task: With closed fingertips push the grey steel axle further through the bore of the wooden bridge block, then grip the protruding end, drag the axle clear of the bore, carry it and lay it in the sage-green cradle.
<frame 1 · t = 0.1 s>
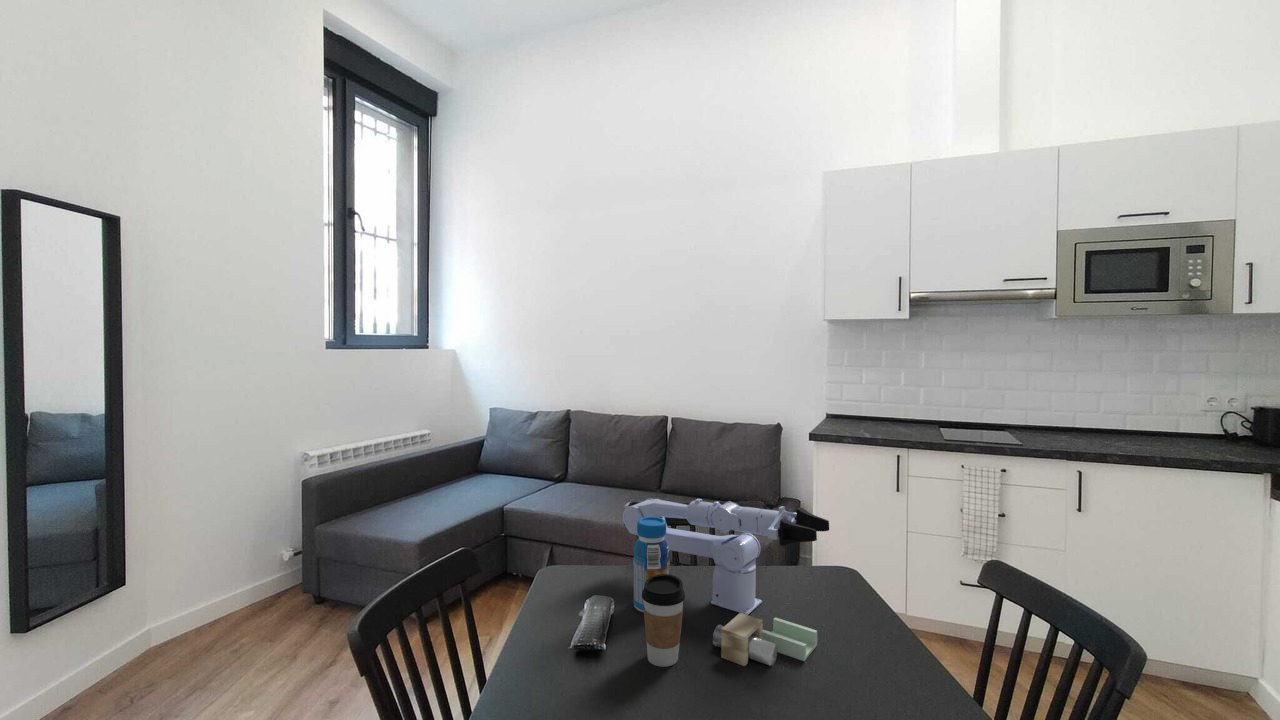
hand: (822, 530, 121), 22 cm above the table, tool horizontal, fingers open, 7 cm apart
coffee cup: (662, 659, 111), on the table
cradle: (789, 645, 116), on the table
beverage bottle: (651, 606, 132), on the table
axle: (744, 654, 113), on the table
wooden bridge block: (742, 652, 113), on the table
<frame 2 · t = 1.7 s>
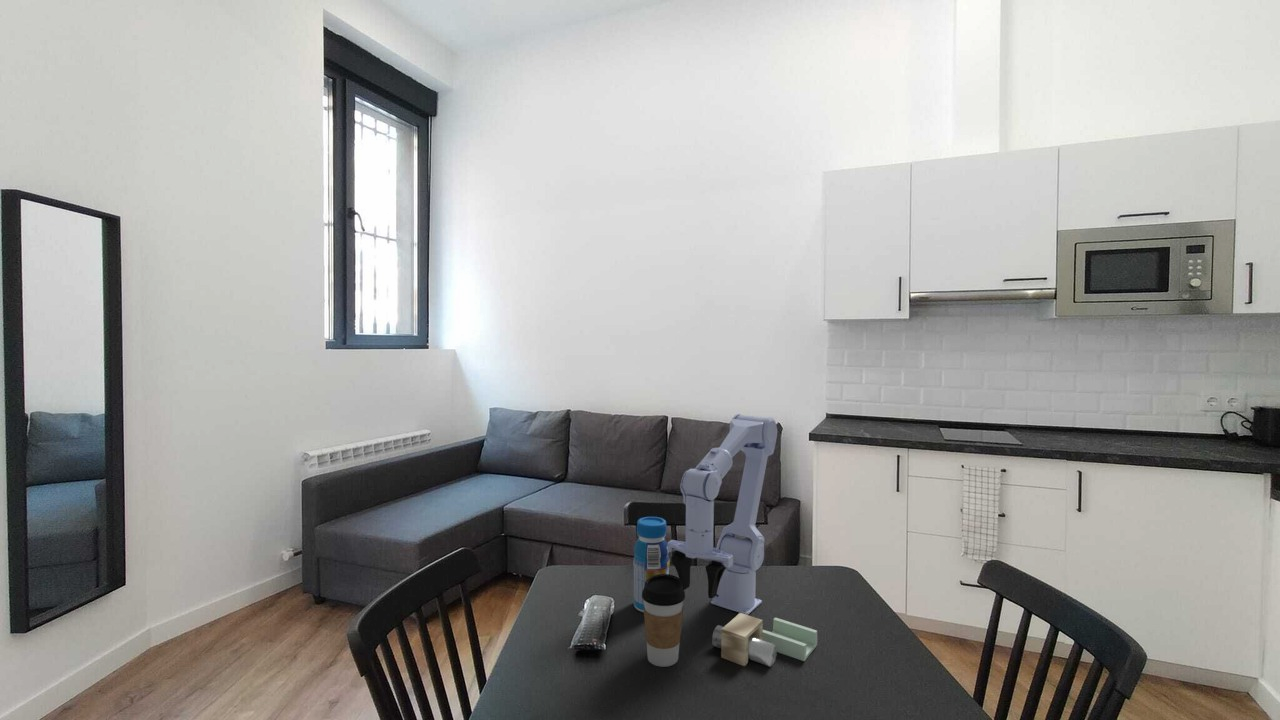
hand: (698, 592, 118), 9 cm above the table, tool pointing down, fingers open, 6 cm apart
axle: (744, 654, 113), on the table, tilted 9°
everything else where it was.
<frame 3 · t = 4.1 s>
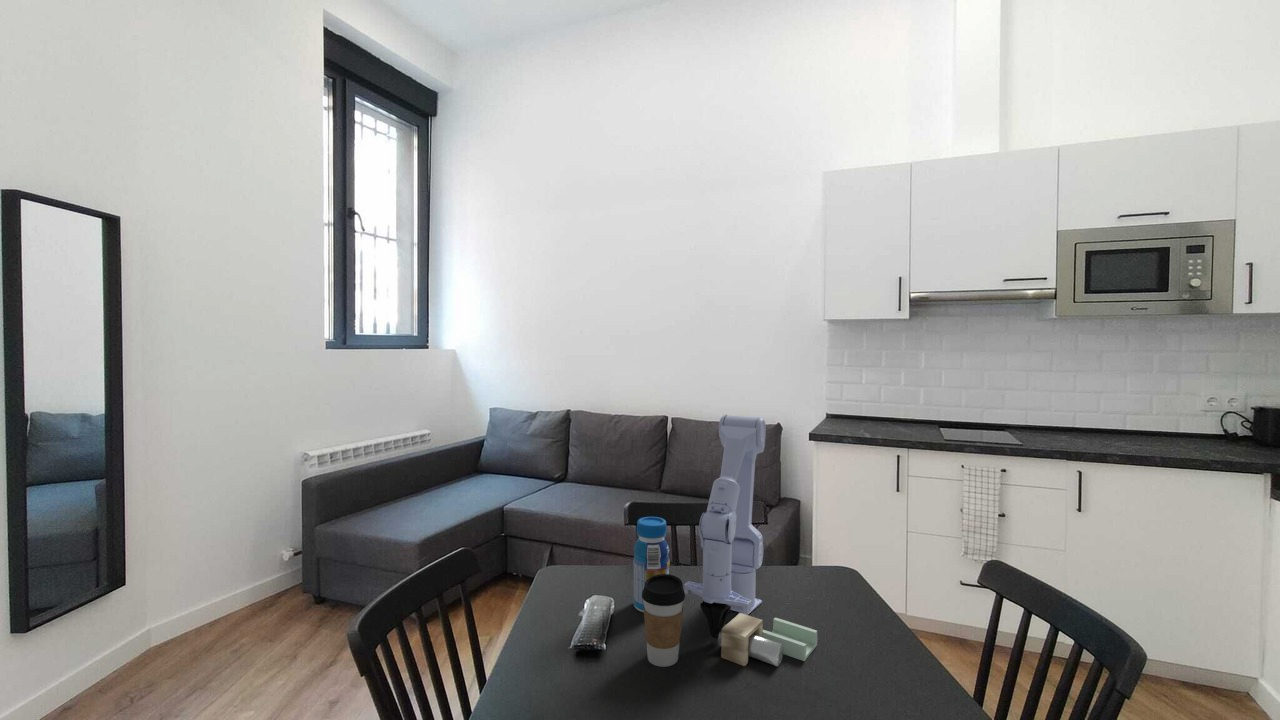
hand: (716, 636, 116), 1 cm above the table, tool pointing down, fingers closed
axle: (749, 655, 112), on the table, tilted 8°, touching gripper
everything else where it was.
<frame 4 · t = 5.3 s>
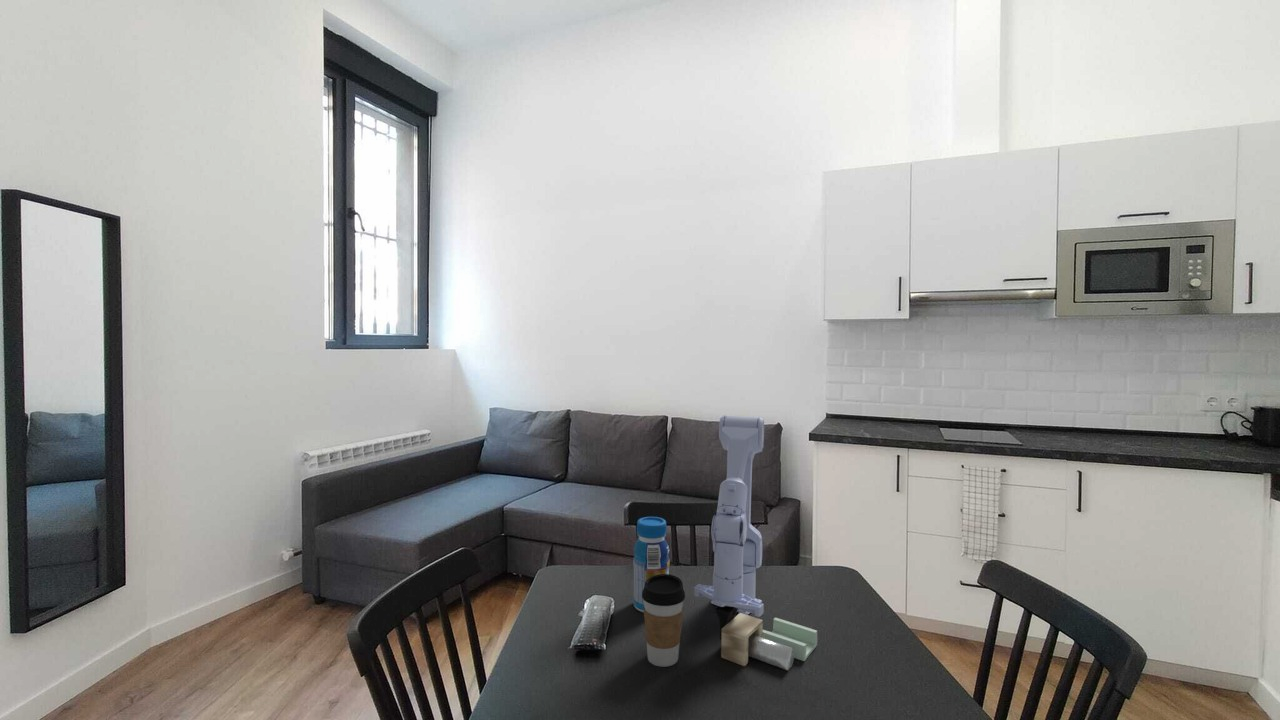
hand: (727, 639, 115), 1 cm above the table, tool pointing down, fingers closed, pressing on wooden bridge block
axle: (759, 659, 111), on the table, tilted 19°
everything else where it was.
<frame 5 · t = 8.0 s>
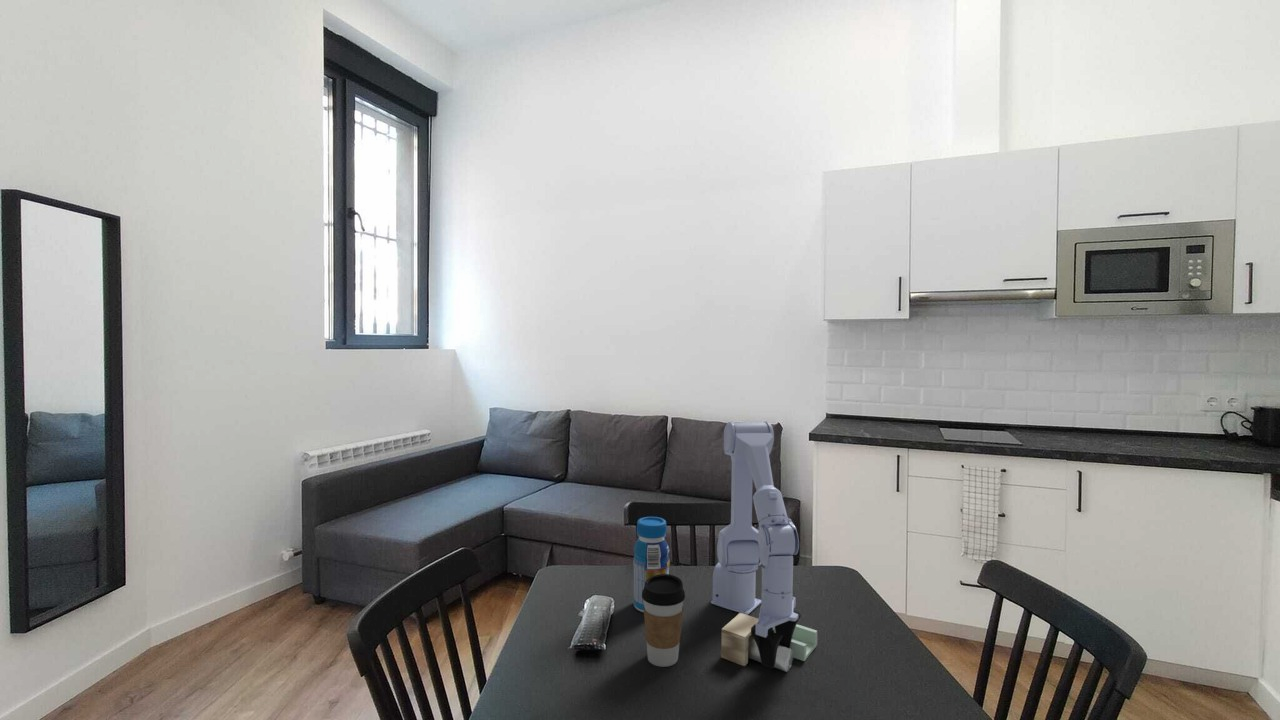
hand: (775, 657, 109), 1 cm above the table, tool pointing down, fingers open, 7 cm apart
axle: (759, 660, 111), on the table
everything else where it was.
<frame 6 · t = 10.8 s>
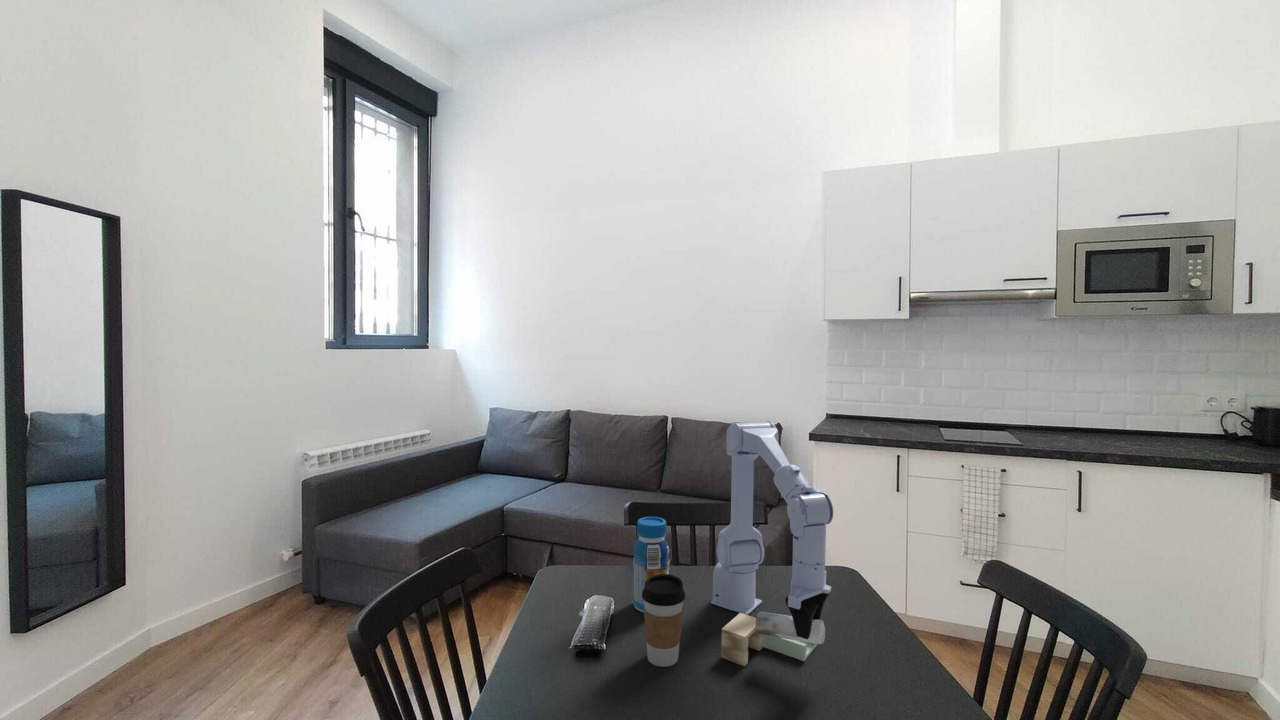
hand: (807, 631, 105), 8 cm above the table, tool pointing down, fingers closed on axle, 4 cm apart
axle: (791, 638, 107), point 6 cm above the table, tilted 10°, touching gripper
everything else where it was.
when the fingers open (3 cm above the table, at t = 12.8 s): axle drops 1 cm, resting on cradle.
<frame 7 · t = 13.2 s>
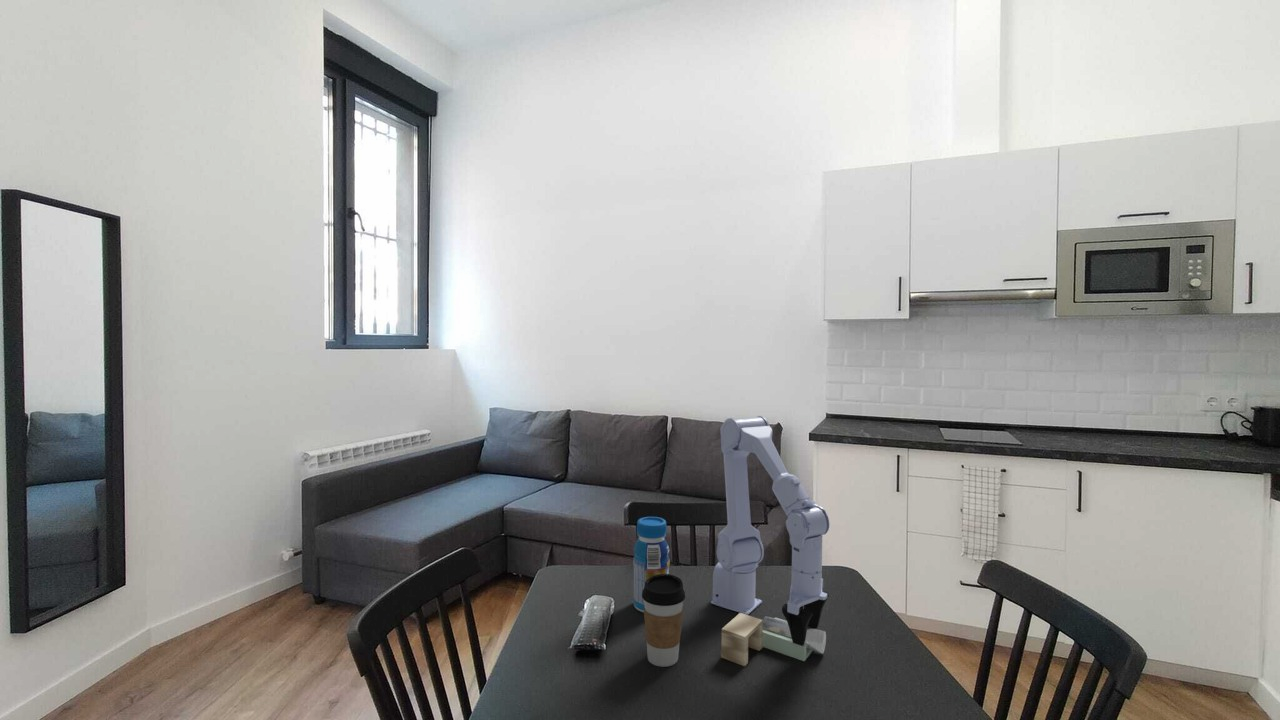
hand: (805, 635, 114), 3 cm above the table, tool pointing down, fingers open, 7 cm apart
axle: (792, 644, 114), point 1 cm above the table, tilted 24°, touching cradle
everything else where it was.
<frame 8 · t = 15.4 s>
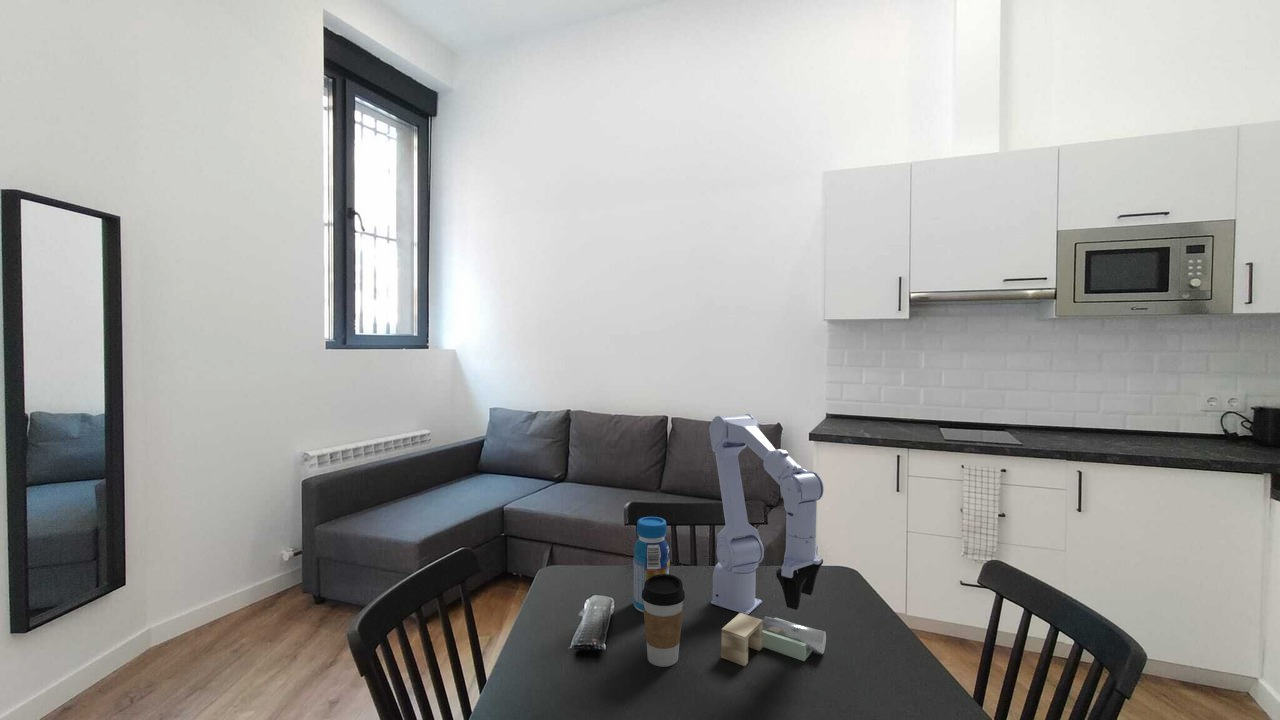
hand: (799, 600, 114), 10 cm above the table, tool pointing down, fingers open, 7 cm apart
nothing on the table moved.
at the end: axle inside the target area on the cradle (1.2 cm from its centre), point 0.8 cm above the cradle's base; the gripper is holding nothing; axle touching cradle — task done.
